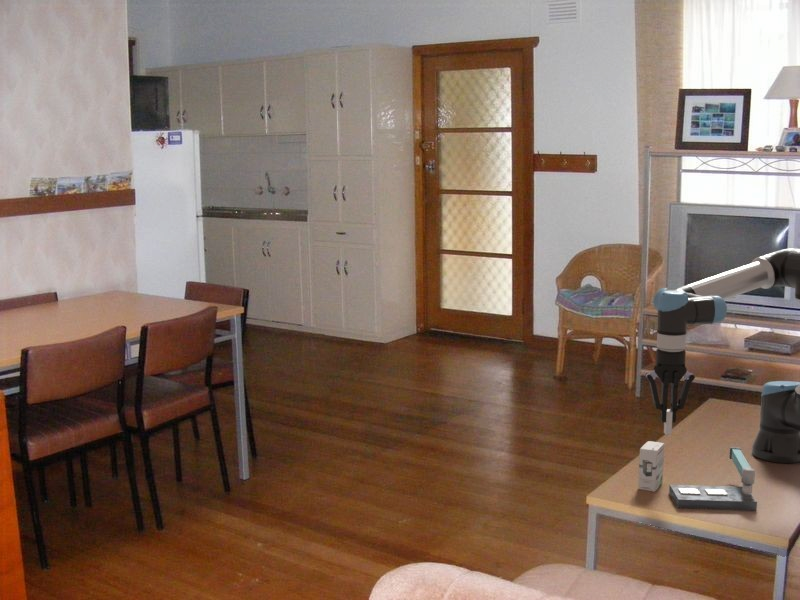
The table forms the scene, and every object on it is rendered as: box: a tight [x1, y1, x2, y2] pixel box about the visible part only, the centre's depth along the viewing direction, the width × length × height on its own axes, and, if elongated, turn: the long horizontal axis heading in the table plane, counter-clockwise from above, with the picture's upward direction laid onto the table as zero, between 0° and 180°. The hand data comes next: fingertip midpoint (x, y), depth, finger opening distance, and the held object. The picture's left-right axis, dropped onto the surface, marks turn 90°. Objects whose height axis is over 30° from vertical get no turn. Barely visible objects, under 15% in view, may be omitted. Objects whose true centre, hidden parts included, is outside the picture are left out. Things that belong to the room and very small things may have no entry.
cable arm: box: [729, 446, 756, 485], centre depth 258 cm, size 21×3×4 cm, turn 170°
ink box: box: [637, 440, 665, 492], centre depth 262 cm, size 9×5×12 cm, turn 151°
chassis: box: [668, 483, 758, 512], centre depth 250 cm, size 20×11×5 cm, turn 86°
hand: (667, 433), depth 256 cm, fingers closed
